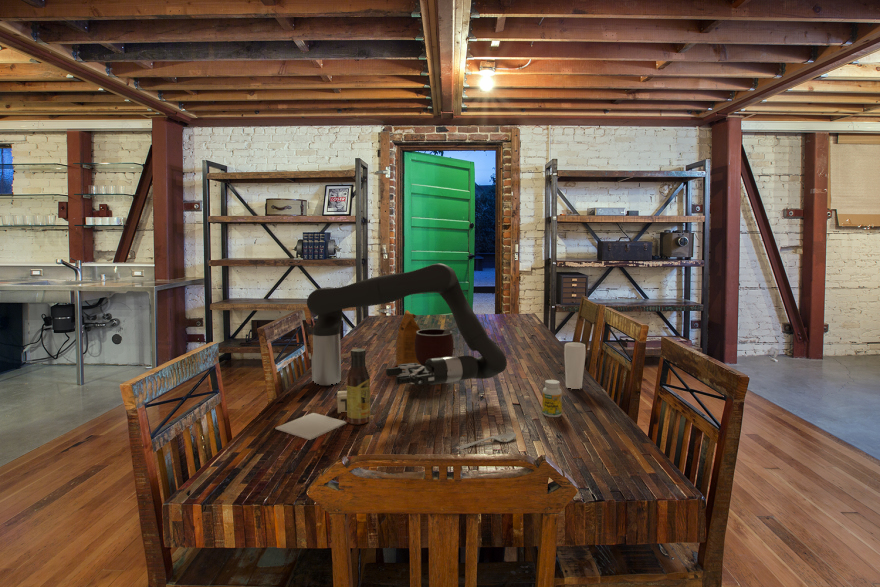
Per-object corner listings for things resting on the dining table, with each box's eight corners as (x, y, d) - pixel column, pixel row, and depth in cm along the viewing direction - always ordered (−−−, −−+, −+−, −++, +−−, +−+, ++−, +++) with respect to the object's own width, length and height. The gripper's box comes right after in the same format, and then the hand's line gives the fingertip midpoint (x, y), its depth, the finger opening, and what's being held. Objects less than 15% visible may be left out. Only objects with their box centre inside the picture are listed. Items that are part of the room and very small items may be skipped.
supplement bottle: (561, 412, 135) (562, 379, 134) (560, 418, 130) (561, 385, 129) (542, 410, 137) (543, 378, 136) (541, 416, 132) (542, 383, 131)
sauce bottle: (365, 426, 124) (364, 353, 122) (343, 424, 126) (341, 352, 123) (373, 417, 131) (372, 347, 129) (352, 416, 132) (351, 346, 130)
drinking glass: (585, 386, 160) (587, 343, 158) (582, 392, 154) (584, 347, 152) (565, 383, 163) (566, 341, 161) (561, 389, 156) (563, 345, 155)
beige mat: (275, 429, 123) (275, 427, 123) (313, 413, 134) (313, 412, 134) (309, 440, 116) (309, 438, 116) (346, 423, 127) (346, 421, 127)
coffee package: (418, 362, 192) (417, 309, 190) (424, 370, 180) (424, 313, 178) (394, 363, 190) (393, 310, 187) (399, 371, 178) (398, 314, 175)
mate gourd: (408, 381, 165) (408, 325, 163) (423, 371, 178) (423, 319, 176) (450, 386, 160) (450, 328, 157) (462, 375, 173) (462, 322, 170)
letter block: (338, 407, 139) (337, 391, 139) (355, 406, 140) (354, 390, 140) (337, 413, 134) (337, 396, 134) (355, 412, 135) (355, 395, 135)
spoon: (520, 442, 116) (520, 435, 116) (444, 457, 108) (444, 450, 107) (511, 435, 120) (511, 429, 119) (437, 450, 111) (437, 443, 111)
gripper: (433, 352, 144) (383, 357, 137) (454, 363, 131) (399, 369, 124) (433, 376, 144) (383, 382, 138) (454, 389, 132) (399, 397, 125)
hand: (391, 376), depth 131 cm, fingers open, 8 cm apart
